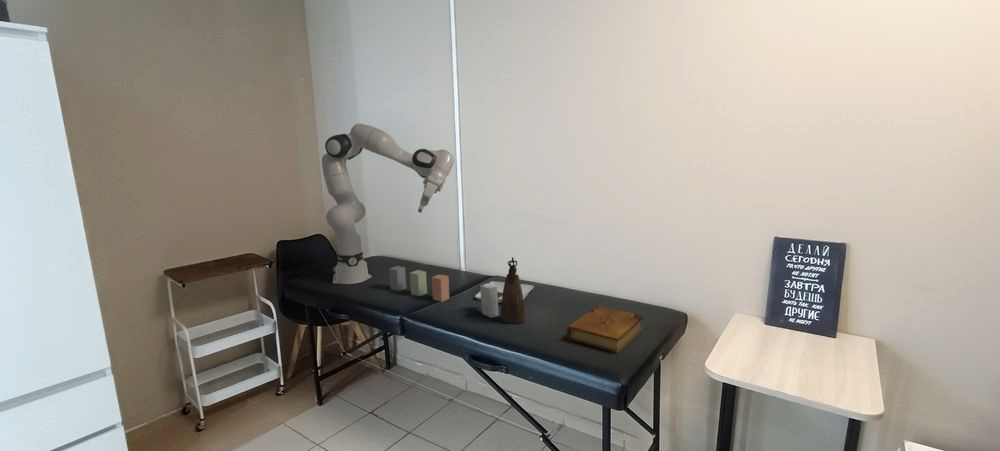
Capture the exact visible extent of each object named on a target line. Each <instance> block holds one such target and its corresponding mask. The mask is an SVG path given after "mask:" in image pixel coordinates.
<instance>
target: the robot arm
mask: <svg viewBox="0 0 1000 451" xmlns="http://www.w3.org/2000/svg"><path fill="white" fill-rule="evenodd" d="M324 147H325V148H324V149H325V152H326V153H325V154H323V155H322V157H321V166H322V173H323V178H324V181H325V185H326V188H327V192H328V194H329V195H330V197H332V198H333V199H334V201H335V202H336V204H337V205H335V206H333V207H332V208H330V209H328V211H327V212H326V215H325V219H326V222H327V224H328V225H329V226H330V227H331V228H332V230H333V232H334V235H335V238H336V244H337V245H336V246H337V255H336V256H337V263H336V266H334V267H333V272H334V274H333V277H332V284H340V285H341V284H342V285H354V284H359V283H362V282H365V281H367V280H369V279H371V278H372V275H371V274H370V273H368V272H369V271H368V265H367V264H368V262H367V261H366V260H364V252H363V251H362V239H361V235H359V233H358V232H357V230H356V227H355V224H357V223H358V222H360V221H362V219H363V218H364V217H365V216H366V212H367V211H366V207H365V205H364V204H363V203H362V202H360V200H359V199H358V197H357V195H356V194H355V191H354V190H353V186H352V183H351V180H350V176H349V173H348V172H349V171H348V169H347V161H348V160H349V161H350V160H352V159H354V158H355V157H357V156H359V154H361V153H362V151H363V149H365V151H366V150H367V151H369V152H371V153H374V154H377V155H380V156H383V157H384V158H388V159H390V160H393V161H395V162H397V163H400V164H401V165H403V166H405V167H407V168H410V169H411V170H412V171H413V170H414V172H416V173H417V175H418V176H420V177H421V178H422V179H423V181H422V183H423V188H424V189H423V191H422V195H421V197H420V202H419V206H418V210H417V212H418V213H419V214H421V213H422V212H423V210H424V209H425V207H426V206H428V204H429V202H430V201H431V198H432V197H433V195H434V194H437V192H441V191H442V189H443V187H444V185H445V183H446V179H447V176H449V175H450V172H451V170H452V168H453V165H454V162H455V159H454V157H453V155H452V154H451V153H450V152H449V151H448V150H446V149H443V148H442V149H439V150H430V149H426V148H419V149H417V150H415V151H414V152H413V153H410V152H408V151H406V150H404V149H403V148H402V147H401V146H399V144H398V143H397V142H396V141H395V140H394V138H393V137H392V136H391V135H390V134H389V133H387V132H386V131H384V130H381V129H379V128H377V127H375V126H372V125H367V124H364V123H356V124H354V125H353V126H352V128H351V129H350V131H349V133H348V134H347V133H341V134H334V135H331V136H330V137H328V138H327V139H326V141H325V144H324Z"/></svg>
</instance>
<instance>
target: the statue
mask: <svg viewBox="0 0 1000 451" xmlns="http://www.w3.org/2000/svg"><path fill="white" fill-rule="evenodd" d="M507 265H508V267H509V269H508V273H507V274H506V277H505V281H504V282H505V284H504V289H503V293H502V295H501V296H502V303H501V306H500V307H501V309H500V320H501V321H502V322H504V323H507V324H511V325H512V324H513V325H516V324H517V325H518V324H523V323H525V321H526V317H525V315H526V314H525V304H524V302H525V301H524V300H523V294H522V288H521V284H522V283H521V280H520V277H519V274H518V273H517V265H518V261H517V260H515V258H514V257H511V260H510V261H507Z"/></svg>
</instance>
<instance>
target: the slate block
mask: <svg viewBox="0 0 1000 451" xmlns="http://www.w3.org/2000/svg"><path fill="white" fill-rule="evenodd" d="M388 272H389V273H388V274H389V286H390V290H392V291H395V292H400V291H403V290H406V289H407V280H406V279H407V278H406V276H407V275H406V267H405V266H404V267H403V266H399V265H396V266H393V267H390V268H388Z"/></svg>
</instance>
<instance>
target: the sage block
mask: <svg viewBox="0 0 1000 451" xmlns="http://www.w3.org/2000/svg"><path fill="white" fill-rule="evenodd" d="M409 279H410V280H409V283H410V295H411V296H417V297H422V296H423V295H425V294H426V295H427V294H428V287H427V271H424V270H420V269H417V270H415V271H410V272H409Z"/></svg>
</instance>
